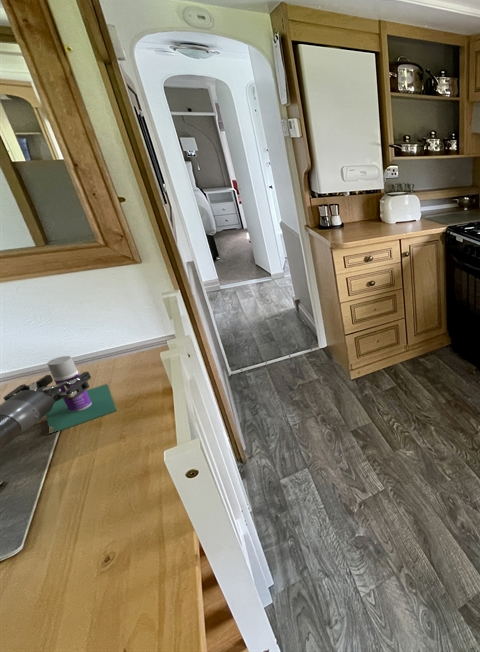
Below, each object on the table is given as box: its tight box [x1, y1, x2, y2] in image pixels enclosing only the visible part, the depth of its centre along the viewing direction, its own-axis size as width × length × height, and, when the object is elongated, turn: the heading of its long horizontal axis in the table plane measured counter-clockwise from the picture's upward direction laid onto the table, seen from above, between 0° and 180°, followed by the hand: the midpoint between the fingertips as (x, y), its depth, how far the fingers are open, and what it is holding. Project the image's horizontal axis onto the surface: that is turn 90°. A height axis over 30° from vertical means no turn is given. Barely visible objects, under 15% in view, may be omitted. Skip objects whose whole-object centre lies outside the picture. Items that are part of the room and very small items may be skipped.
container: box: [46, 355, 92, 412], centre depth 102 cm, size 5×5×15 cm
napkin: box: [46, 383, 117, 433], centre depth 105 cm, size 18×13×1 cm
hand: (69, 376), depth 102 cm, fingers open, 8 cm apart
